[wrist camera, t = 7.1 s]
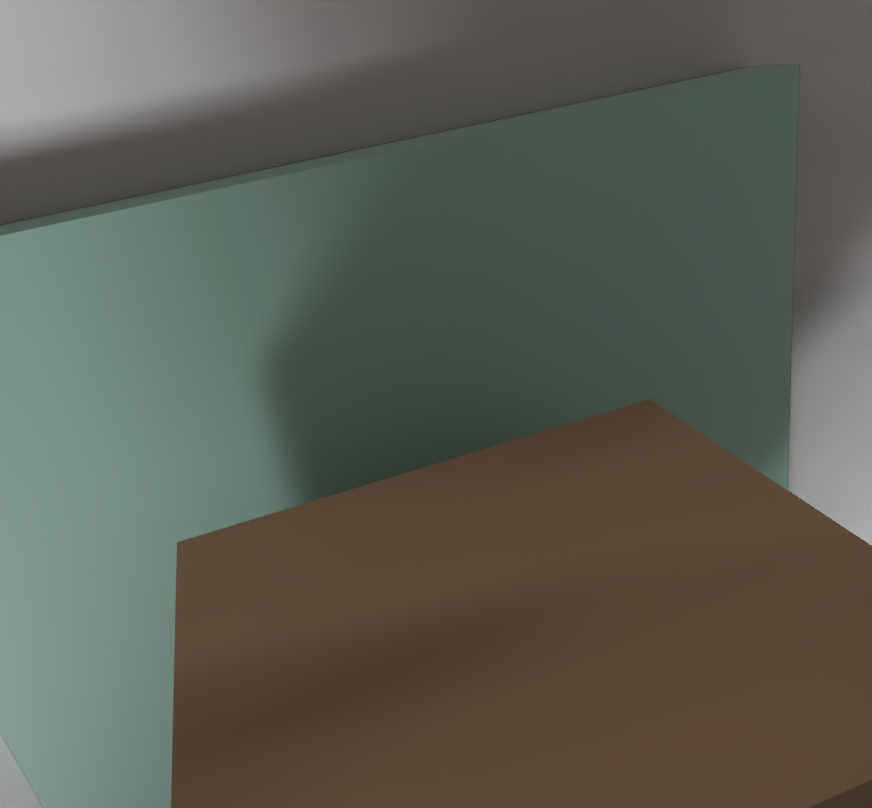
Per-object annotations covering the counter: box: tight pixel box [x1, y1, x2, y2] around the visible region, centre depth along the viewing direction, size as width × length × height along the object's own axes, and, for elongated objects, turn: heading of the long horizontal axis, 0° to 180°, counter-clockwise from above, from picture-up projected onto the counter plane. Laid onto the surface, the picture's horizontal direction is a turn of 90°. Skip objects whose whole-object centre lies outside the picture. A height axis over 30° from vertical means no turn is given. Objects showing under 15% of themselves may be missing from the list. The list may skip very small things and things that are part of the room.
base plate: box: [0, 64, 800, 808], centre depth 12 cm, size 12×12×1 cm
